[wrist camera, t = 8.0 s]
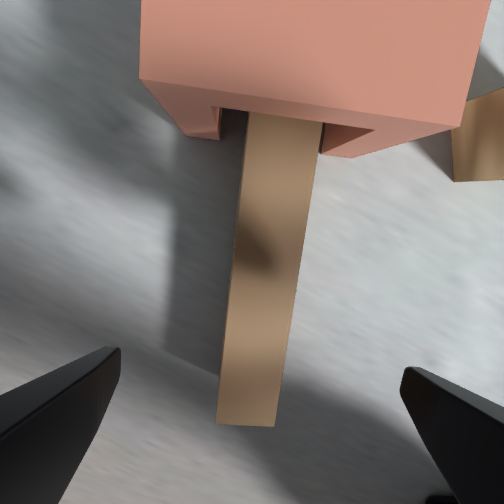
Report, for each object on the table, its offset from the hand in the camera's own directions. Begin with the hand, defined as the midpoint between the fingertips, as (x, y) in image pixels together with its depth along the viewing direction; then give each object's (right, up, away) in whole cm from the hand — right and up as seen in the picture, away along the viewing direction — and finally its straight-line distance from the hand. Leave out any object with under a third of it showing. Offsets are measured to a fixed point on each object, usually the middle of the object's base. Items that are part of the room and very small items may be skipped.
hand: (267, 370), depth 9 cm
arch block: (+1, +12, +6) cm, 13 cm away
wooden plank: (0, +4, +8) cm, 9 cm away
